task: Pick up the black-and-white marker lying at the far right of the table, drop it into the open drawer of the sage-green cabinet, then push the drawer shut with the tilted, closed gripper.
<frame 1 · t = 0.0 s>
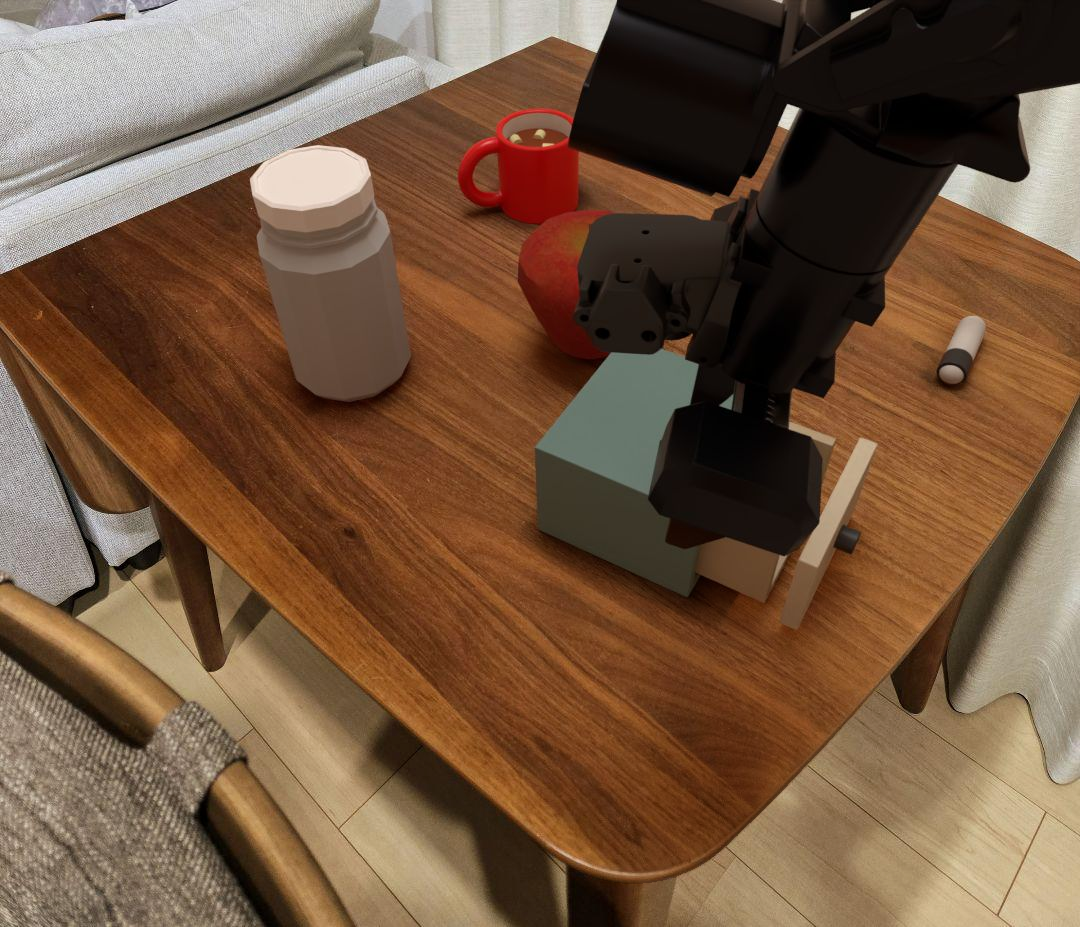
hand: (687, 472, 47), 17 cm above the table, tool pointing down, fingers open, 9 cm apart
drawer: (769, 508, 62), point 4 cm above the table, slide at 6.0 cm
marker: (958, 359, 77), on the table
jar: (354, 369, 78), on the table
apple: (588, 349, 80), on the table
mug: (520, 207, 94), on the table
cabinet: (650, 501, 68), on the table
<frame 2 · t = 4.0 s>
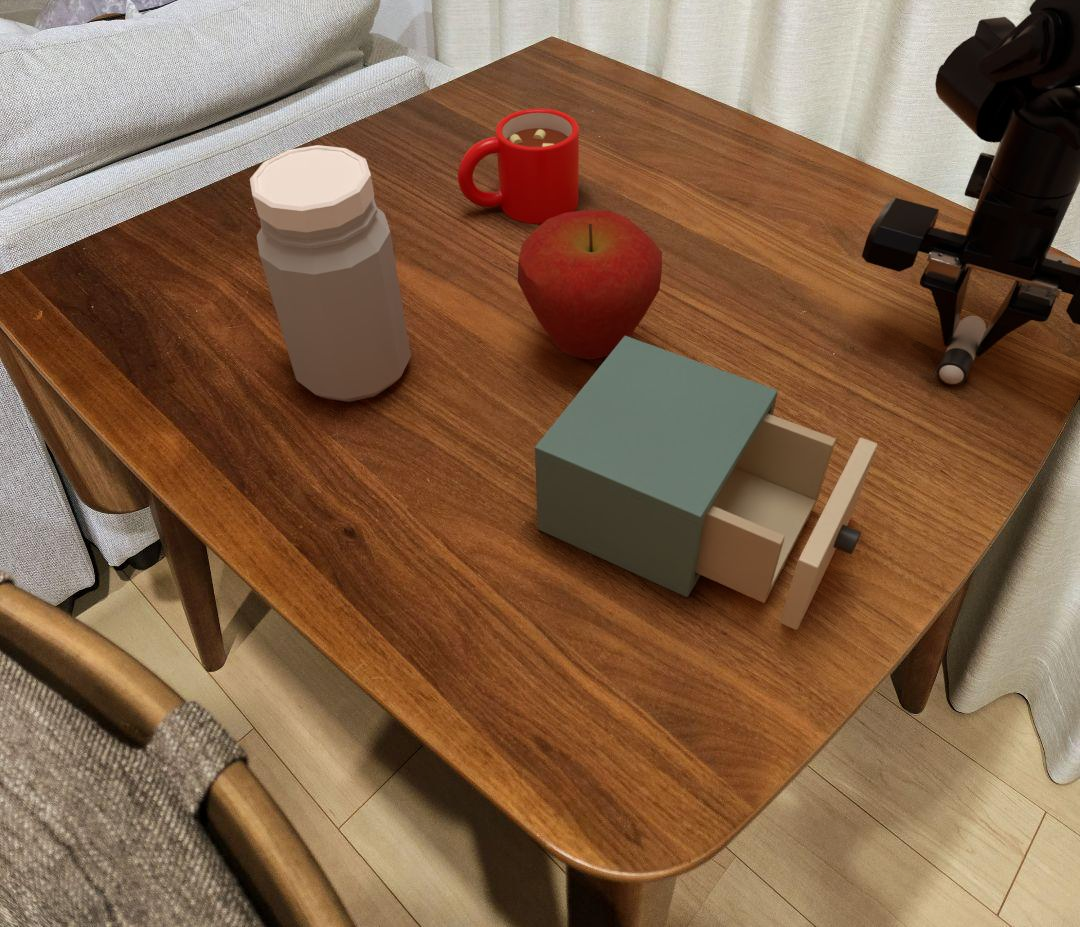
hand: (963, 348, 76), 1 cm above the table, tool pointing down, fingers closed on marker, 2 cm apart
marker: (958, 359, 77), on the table, touching gripper
everything else where it was.
when the fingers open (7 cm above the table, at t = 8.7 s): marker drops 4 cm, resting on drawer.
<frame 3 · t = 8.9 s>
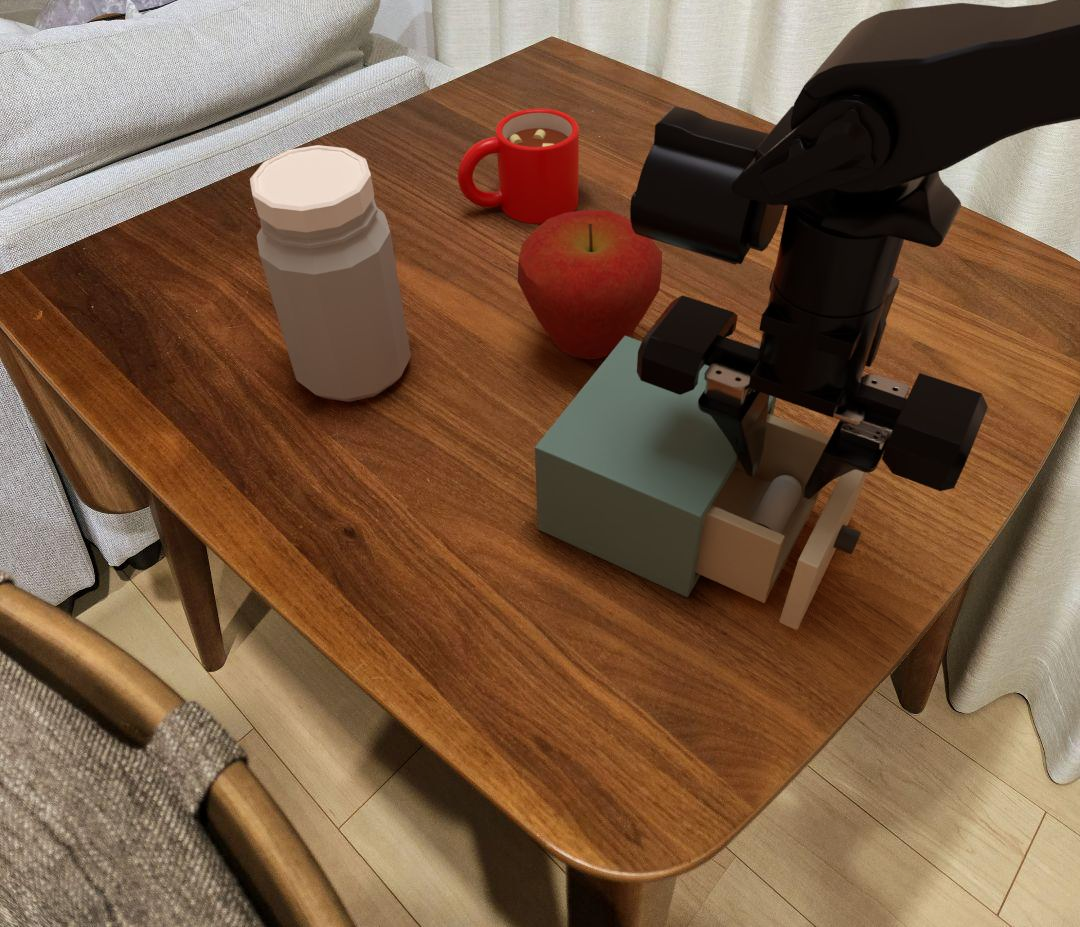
hand: (780, 482, 60), 7 cm above the table, tool pointing down, fingers open, 3 cm apart
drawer: (769, 508, 62), point 4 cm above the table, slide at 6.0 cm, touching marker
marker: (766, 530, 63), point 2 cm above the table, touching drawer
everything else where it was.
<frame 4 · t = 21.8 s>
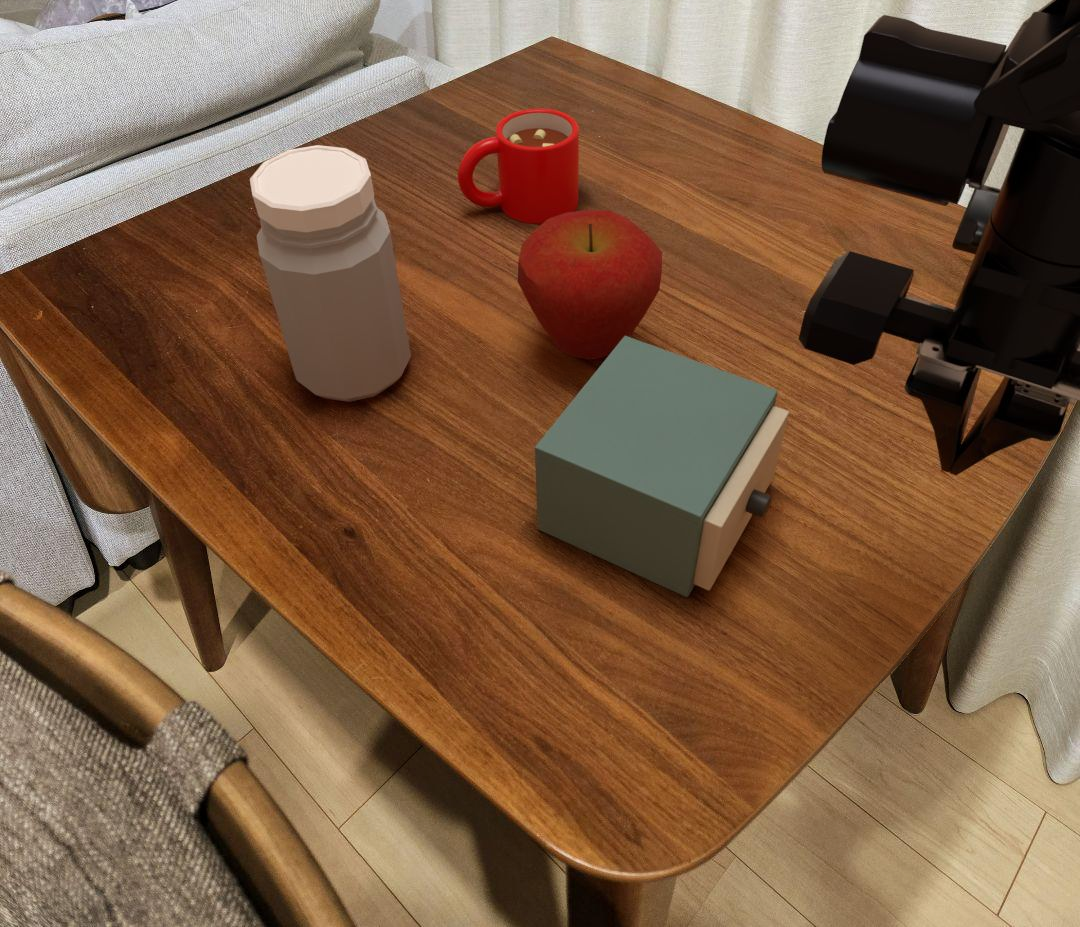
hand: (950, 467, 52), 13 cm above the table, tool pointing down, fingers closed
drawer: (686, 474, 64), point 4 cm above the table, slide at 0.0 cm, touching cabinet, marker
marker: (685, 496, 66), point 2 cm above the table, touching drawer
everything else where it was.
at the end: marker inside the target area in the cabinet (2.5 cm from its centre), point 2.0 cm above the cabinet's base; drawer slide at 0.0 cm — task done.
